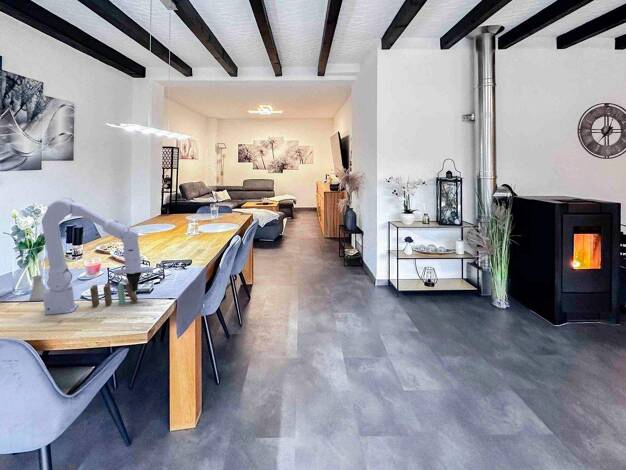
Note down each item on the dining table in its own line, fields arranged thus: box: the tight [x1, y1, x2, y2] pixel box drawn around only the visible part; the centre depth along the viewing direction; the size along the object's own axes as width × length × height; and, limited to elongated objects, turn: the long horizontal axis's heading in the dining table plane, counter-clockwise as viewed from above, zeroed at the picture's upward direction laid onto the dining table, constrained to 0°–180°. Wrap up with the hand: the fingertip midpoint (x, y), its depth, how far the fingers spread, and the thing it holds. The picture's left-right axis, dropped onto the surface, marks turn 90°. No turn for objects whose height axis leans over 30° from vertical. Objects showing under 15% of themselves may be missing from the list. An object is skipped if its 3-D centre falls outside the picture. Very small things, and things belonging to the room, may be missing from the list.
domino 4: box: [124, 281, 139, 304], centre depth 154 cm, size 2×4×8 cm, turn 14°
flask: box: [29, 274, 48, 302], centre depth 157 cm, size 7×7×10 cm
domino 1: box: [90, 284, 100, 308], centre depth 150 cm, size 2×4×8 cm, turn 17°
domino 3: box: [116, 282, 126, 306], centre depth 153 cm, size 2×4×8 cm, turn 16°
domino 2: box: [103, 283, 113, 307], centre depth 151 cm, size 2×4×8 cm, turn 17°
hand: (135, 290), depth 154 cm, fingers closed
